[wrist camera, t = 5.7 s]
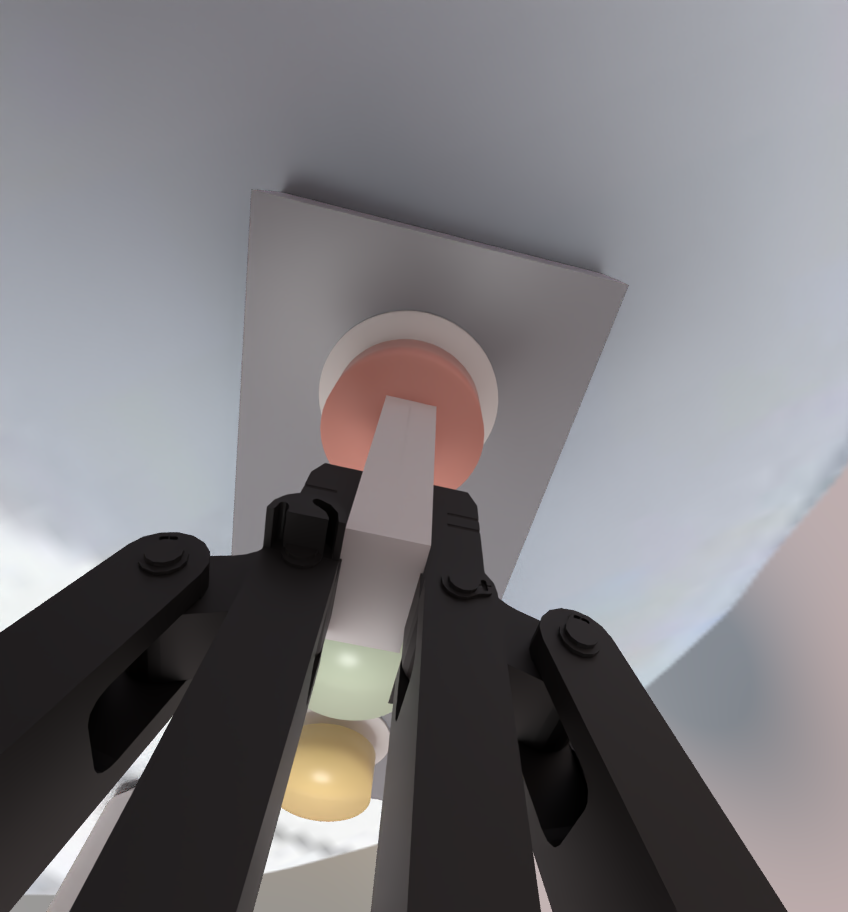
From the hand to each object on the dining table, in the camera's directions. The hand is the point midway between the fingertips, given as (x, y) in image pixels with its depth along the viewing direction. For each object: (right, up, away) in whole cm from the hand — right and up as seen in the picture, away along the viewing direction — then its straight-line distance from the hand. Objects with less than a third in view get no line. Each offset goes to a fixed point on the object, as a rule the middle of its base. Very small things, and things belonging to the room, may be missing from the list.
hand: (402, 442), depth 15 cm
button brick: (0, +1, +2) cm, 2 cm away
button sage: (-2, -8, +6) cm, 10 cm away
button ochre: (-4, -16, +11) cm, 20 cm away
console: (-2, -6, +10) cm, 12 cm away
